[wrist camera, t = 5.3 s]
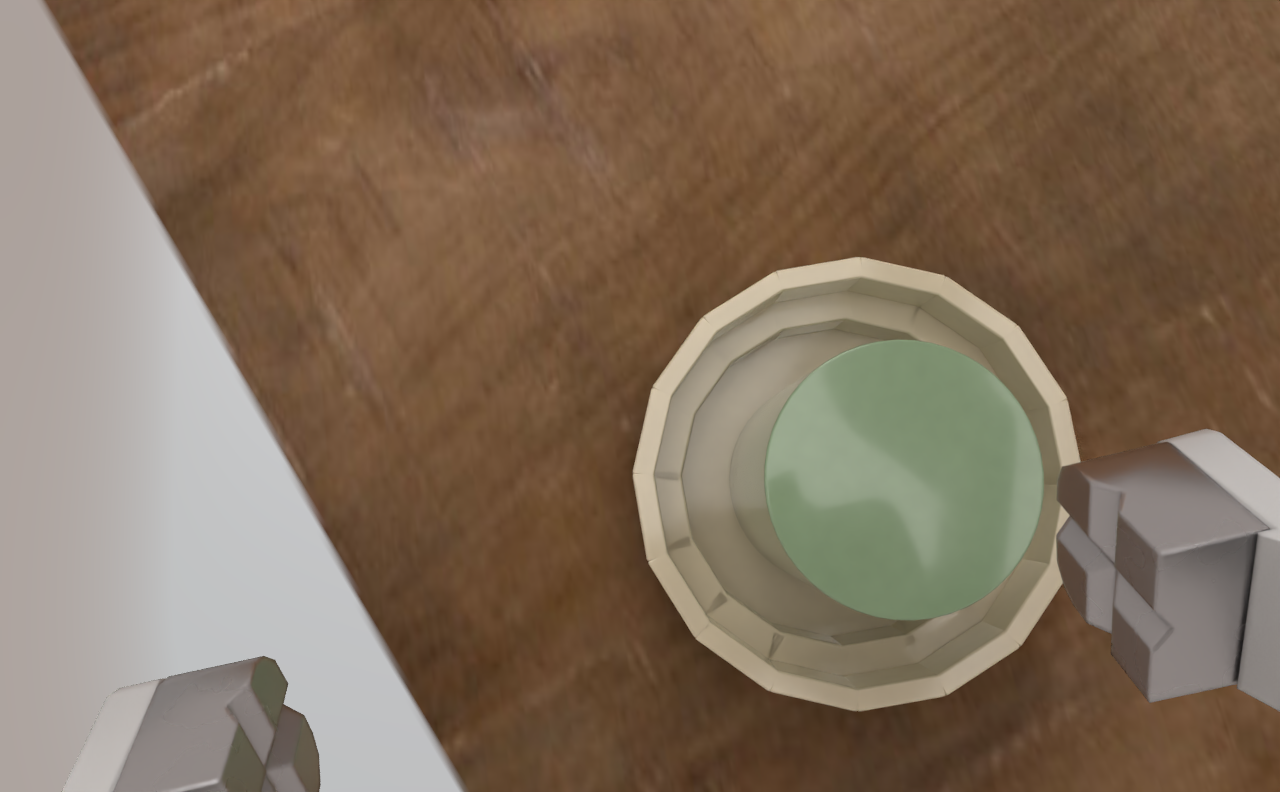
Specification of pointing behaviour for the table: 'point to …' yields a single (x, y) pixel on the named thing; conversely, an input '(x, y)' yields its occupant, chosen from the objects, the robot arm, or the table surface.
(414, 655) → the table surface
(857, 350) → the sage green cylinder
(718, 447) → the cream bowl
